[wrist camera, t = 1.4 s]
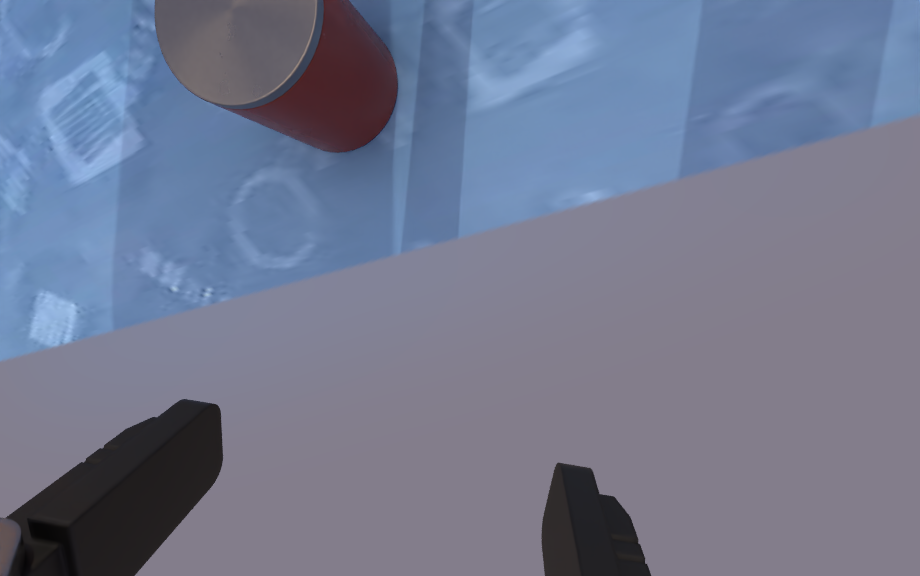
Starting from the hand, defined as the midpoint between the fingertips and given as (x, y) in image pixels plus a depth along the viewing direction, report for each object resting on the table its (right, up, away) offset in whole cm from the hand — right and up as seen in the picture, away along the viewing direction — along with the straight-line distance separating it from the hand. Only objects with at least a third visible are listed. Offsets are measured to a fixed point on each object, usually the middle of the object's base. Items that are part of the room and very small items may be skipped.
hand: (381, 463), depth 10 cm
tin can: (-6, +18, +19) cm, 27 cm away
